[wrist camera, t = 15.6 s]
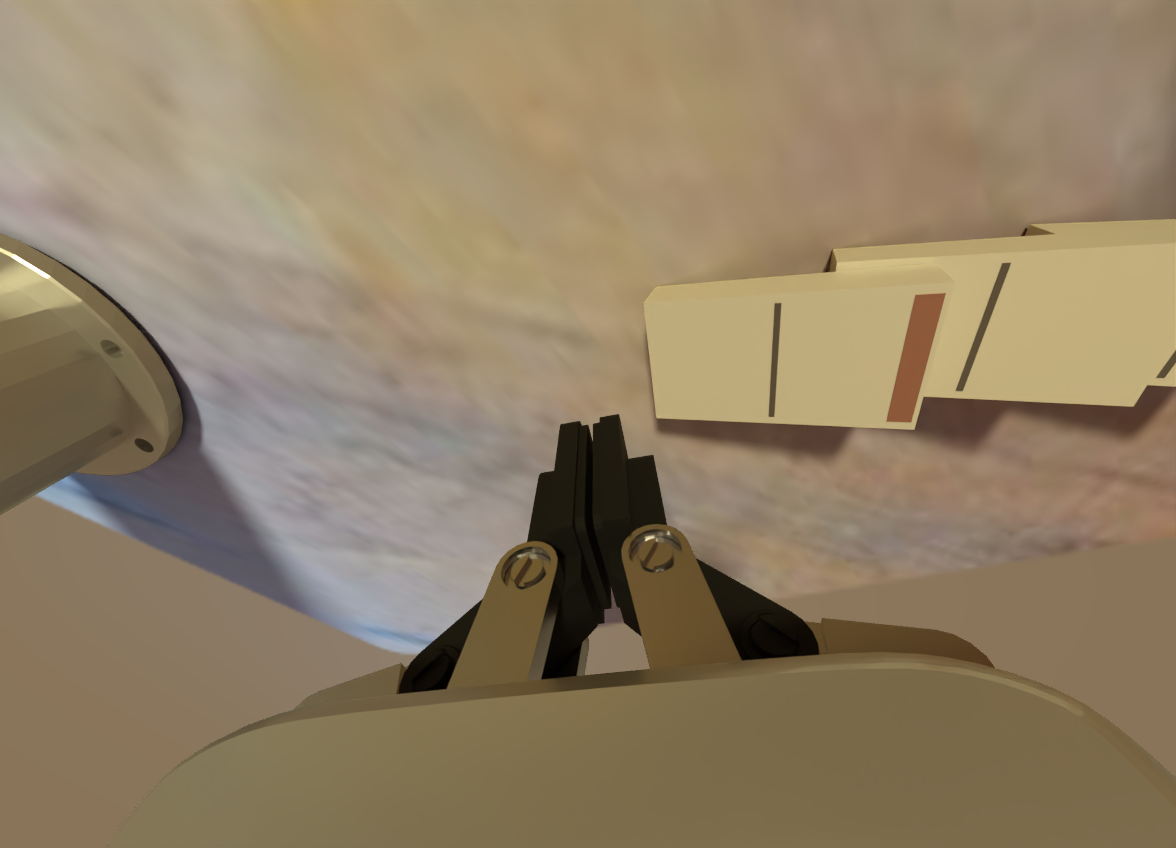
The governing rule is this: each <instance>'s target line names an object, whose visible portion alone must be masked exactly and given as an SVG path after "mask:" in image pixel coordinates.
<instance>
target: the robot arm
mask: <svg viewBox="0 0 1176 848" xmlns="http://www.w3.org/2000/svg"><path fill="white" fill-rule="evenodd" d="M182 424H183V415H182V408H181V401H180V398H179V395H178V392H177V389H176V387H175V384H174V381H173V379H172V377H171V375H170V373H169V372H168V370H167V368H166V366H165V365H164V363H163V361H162V359H161V358H160V356H159V355H158V353H157V352H156V351H155V349H154V348H153V347H152V346H151V344H150V343H149V342H148V340H147V339H146V338H145V336H144V335H143V334H142V332H141V331H140V330H139V329H138V328H137V327H136V326H135V325H134V324H133V323H132V322H131V321H130V320H129V319H128V318H127V317H126V316H125V315H124V314H123V313H122V312H121V311H120V310H119V308H118V307H116V306H115V305H114V304H113V303H112V302H110V301H109V300H108V299H107V298H106V297H105V296H103V295H102V294H101V293H100V292H99V291H97V290H96V289H95V288H94V287H93V286H92V285H90V284H89V283H88V282H86V281H85V280H83V279H82V278H80V277H79V276H77V275H76V274H75V273H73V272H72V271H70V270H69V269H67V268H66V267H64V266H63V265H61V264H60V263H59V262H57V261H55V260H53V259H51V258H50V257H48V256H46V255H44V254H42V253H41V252H39V251H37V250H35V249H33V248H31V247H30V246H28V245H26V244H24V243H22V242H20V241H18V240H16V239H13V238H11V237H8V236H6V235H4V234H1V233H0V515H2V514H3V513H5V512H7V511H8V510H10V509H12V508H14V507H15V506H17V505H19V504H20V503H22V502H24V501H26V500H27V499H29V498H31V497H32V496H34V495H36V494H38V493H39V492H41V491H43V490H44V489H46V488H48V487H50V486H51V485H53V484H55V483H56V482H58V481H60V480H62V479H63V478H65V477H67V476H68V475H70V474H72V473H74V472H78V473H83V474H94V475H105V476H110V475H125V474H130V473H133V472H137V471H140V470H143V469H145V468H147V467H148V466H150V465H151V464H153V463H155V462H156V461H158V460H160V459H161V458H163V457H164V456H165V455H166V454H168V453H169V452H170V451H171V450H172V449H173V448H174V447H175V445H176V443H177V441H178V440H179V438H180V436H181V431H182ZM611 588H612V591H613V595H614V598H615V602H616V605H617V607H618V608H619V607H620V609H621V613H622V616H623V620H624V623H625V624H626V625H628V626H629V627H630V628H631V629H633V630H634V631H635V632H636V633H638V634H639V635H640V636H641V637H642V639H643V643H644V646H645V650H646V654H647V658H648V662H649V666H650V669H647V670H636V671H625V672H615V673H605V674H594V675H585V668H586V662H587V656H588V649H589V639H588V636H589V634H591V632H592V631H593V630H594V629H595V628H596V627H597V626H598V624H601V623H604V609H611ZM104 848H1176V777H1175V776H1174V775H1173V774H1172V773H1170V771H1168V770H1167V769H1166V768H1165V767H1164V766H1163V765H1162V764H1161V763H1160V762H1158V761H1157V760H1156V759H1155V758H1154V757H1153V756H1152V755H1151V754H1150V753H1149V752H1147V751H1146V750H1145V749H1144V748H1143V747H1142V746H1140V745H1139V744H1138V743H1137V742H1136V741H1134V740H1133V739H1132V738H1131V737H1130V736H1128V735H1127V734H1126V733H1125V732H1123V731H1122V730H1121V729H1120V728H1119V727H1117V726H1116V725H1115V724H1113V723H1112V722H1111V721H1109V720H1108V719H1106V718H1105V717H1103V716H1102V715H1100V714H1099V713H1098V712H1096V711H1094V710H1093V709H1092V708H1090V707H1089V706H1087V705H1085V704H1084V703H1082V702H1080V701H1078V700H1077V699H1075V698H1073V697H1071V696H1069V695H1067V694H1065V693H1062V692H1061V691H1058V690H1056V689H1054V688H1052V687H1049V686H1046V685H1044V684H1042V683H1039V682H1036V681H1033V680H1031V679H1028V678H1025V677H1022V676H1019V675H1017V674H1014V673H1010V672H1007V671H1003V670H1000V669H996V668H995V667H994V666H993V664H992V663H991V662H990V660H989V659H988V657H987V656H986V655H985V654H984V653H982V652H981V651H980V650H979V649H977V648H976V647H975V646H973V644H971V643H970V642H968V641H966V640H964V639H962V638H960V637H958V636H956V635H954V634H951V633H947V632H943V631H939V630H932V629H923V628H914V627H904V626H894V625H885V624H874V623H865V622H856V621H846V620H836V619H825V618H822V620H821V623H815V622H805V621H803V620H802V619H801V618H799V617H798V616H797V615H795V614H793V613H792V612H791V611H789V610H787V609H786V608H784V607H782V606H780V605H778V604H777V603H775V602H773V601H771V600H770V599H768V598H766V597H764V596H762V595H761V594H759V593H757V592H755V591H753V590H752V589H750V588H748V587H746V586H745V585H743V584H741V583H739V582H737V581H736V580H734V579H732V578H730V577H728V576H727V575H725V574H723V573H721V572H720V571H718V570H716V569H714V568H712V567H711V566H709V565H707V564H705V563H704V562H702V561H700V560H698V559H696V558H695V556H694V553H693V551H692V549H691V547H690V544H689V542H688V540H687V539H686V537H685V536H684V535H683V534H682V533H681V532H680V531H678V530H677V529H676V528H673V527H671V526H668V525H667V523H666V518H665V513H664V507H663V502H662V497H661V492H660V487H659V482H658V477H657V472H656V467H655V461H654V456H653V455H649V456H643V457H637V458H631V459H628V455H627V450H626V446H625V441H624V436H623V431H622V426H621V421H620V417H619V414H617V415H611V416H605V417H600V423H595V424H593V441H592V437H591V434H590V430H589V426H588V425H583V426H582V425H581V423H580V421H577V422H571V423H566V424H561V425H560V430H559V438H558V446H557V454H556V461H555V469H554V471H551V472H544V473H541V474H540V475H539V478H538V483H537V489H536V495H535V500H534V506H533V512H532V517H531V523H530V529H529V534H528V540H527V542H525V543H522V544H520V545H517V546H515V547H514V548H512V549H511V550H509V551H508V552H507V553H506V554H505V555H504V556H503V557H502V558H501V559H500V561H499V563H498V564H497V566H496V568H495V571H494V573H493V576H492V578H491V580H490V583H489V585H488V588H487V590H486V593H485V595H484V598H483V599H482V600H481V601H480V602H478V603H477V604H476V605H475V606H474V607H473V608H471V609H470V610H469V611H468V612H467V613H466V614H465V615H463V616H462V617H461V618H460V619H459V620H458V621H456V622H455V623H454V624H453V625H452V626H451V627H449V628H448V629H447V630H446V631H445V632H444V633H442V634H441V635H440V636H439V637H438V638H437V639H435V640H434V641H433V642H432V643H431V644H430V645H429V646H427V647H426V648H425V649H424V650H423V651H422V652H420V653H419V654H418V655H417V657H416V658H415V659H414V660H413V661H412V662H411V663H410V665H409V666H406V667H404V666H403V665H402V663H400V664H397V665H394V666H391V667H388V668H385V669H382V670H380V671H377V672H374V673H371V674H368V675H365V676H362V677H359V678H357V679H353V680H351V681H348V682H345V683H342V684H339V685H336V686H333V687H331V688H327V689H325V690H322V691H319V692H317V693H315V694H313V695H311V696H309V697H307V698H306V699H305V700H304V701H302V702H301V703H300V704H299V705H298V706H296V707H295V708H294V710H291V711H288V712H284V713H280V714H277V715H274V716H272V717H269V718H266V719H263V720H260V721H257V722H255V723H252V724H249V725H247V726H244V727H242V728H241V729H238V730H236V731H234V732H232V733H230V734H228V735H226V736H224V737H222V738H220V739H218V740H216V741H214V742H212V743H210V744H209V745H207V746H205V747H204V748H202V749H200V750H199V751H197V752H195V753H194V754H193V755H191V756H190V757H188V758H187V759H185V760H184V761H182V762H181V763H180V764H178V765H177V766H176V767H175V768H174V769H172V770H171V771H170V772H169V773H167V774H166V775H165V776H164V777H163V778H162V779H161V780H160V781H159V782H158V783H157V784H156V785H155V786H154V787H153V788H152V789H151V790H150V791H149V793H148V794H147V795H146V796H145V797H144V798H143V800H142V801H141V802H140V803H139V804H138V806H136V807H135V809H134V810H133V811H132V812H131V814H130V815H129V816H128V817H127V819H126V820H125V821H124V822H123V823H122V825H121V826H120V827H119V829H118V830H117V831H116V833H115V834H114V835H113V836H112V838H111V839H110V840H109V842H108V843H107V844H106V845H105V847H104Z"/></svg>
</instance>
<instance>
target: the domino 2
mask: <svg viewBox="0 0 1176 848" xmlns="http://www.w3.org/2000/svg"><path fill="white" fill-rule="evenodd" d="M935 263H936V264H937V265H938V266H939V267H940V268H941V269H942V270H943V271H944V272H945V273H946V274H947V275H949V276H950V277H951V278H952V279H953V280H954V281H955V285H954V289H953V292H952V296H951V299H950V303H949V307H948V310H947V314H946V317H945V321H944V325H943V328H942V332H941V336H940V339H939V343H938V346H937V350H936V354H935V357H934V361H933V365H932V368H931V372H930V375H929V379H928V383H927V386H926V390H925V394H924V397H943V398H964V399H985V400H1005V401H1026V402H1047V403H1068V404H1088V405H1109V406H1130V407H1134V405H1135V403H1136V402H1137V400H1138V399H1139V397H1140V396H1141V394H1142V392H1143V391H1144V389H1145V388H1146V386H1147V385H1148V383H1149V381H1150V380H1151V378H1152V377H1153V375H1154V374H1155V372H1156V370H1157V369H1158V367H1159V366H1160V364H1161V363H1162V361H1163V359H1164V358H1165V356H1166V355H1167V353H1168V352H1169V350H1170V348H1171V347H1172V345H1173V344H1174V342H1175V341H1176V226H1169V227H1154V228H1139V229H1124V230H1109V231H1094V232H1080V233H1065V234H1050V235H1035V236H1020V237H1005V238H990V239H976V240H961V241H946V242H931V243H916V244H901V245H886V246H872V247H857V248H842V249H833V250H832V256H831V263H830V269H829V272H838V271H850V270H863V269H875V268H887V267H899V266H911V265H923V264H935Z"/></svg>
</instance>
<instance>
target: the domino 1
mask: <svg viewBox="0 0 1176 848" xmlns="http://www.w3.org/2000/svg"><path fill="white" fill-rule="evenodd" d="M954 285H955V281H954V280H953V279H952V278H951V277H950V276H949V275H947V274H946V273H945V272H944V271H943V270H942V269H941V268H940V267H939V266H938V265H937V264H936V263H935V264H923V265H911V266H899V267H887V268H875V269H863V270H850V271H838V272H826V273H814V274H802V275H790V276H778V277H766V278H754V279H742V280H730V281H718V282H706V283H693V284H681V285H669V286H657V287H655V289H654V290H653V291H652V293H651V294H650V295H649V296H648V298H647V299H646V300H645V302H644V303H643V304H644V313H645V322H646V330H647V339H648V348H649V357H650V366H651V375H652V384H653V392H654V401H655V410H656V418H665V419H687V420H710V421H732V422H754V423H776V424H799V425H821V426H843V427H865V428H888V429H910V430H915V426H916V422H917V419H918V415H919V412H920V408H921V404H922V401H923V397H924V394H925V390H926V386H927V383H928V379H929V375H930V372H931V368H932V365H933V361H934V357H935V354H936V350H937V346H938V343H939V339H940V336H941V332H942V328H943V325H944V321H945V317H946V314H947V310H948V307H949V303H950V299H951V296H952V292H953V289H954Z"/></svg>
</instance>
